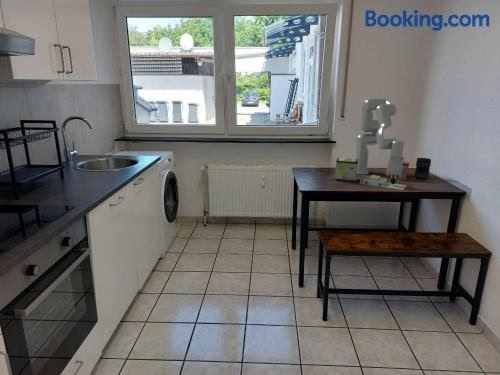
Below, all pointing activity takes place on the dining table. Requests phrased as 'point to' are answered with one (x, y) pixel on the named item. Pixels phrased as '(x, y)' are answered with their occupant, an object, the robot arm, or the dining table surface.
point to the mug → (404, 171)
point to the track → (387, 185)
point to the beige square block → (375, 178)
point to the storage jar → (422, 168)
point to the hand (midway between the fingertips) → (392, 183)
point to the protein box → (346, 169)
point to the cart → (367, 180)
